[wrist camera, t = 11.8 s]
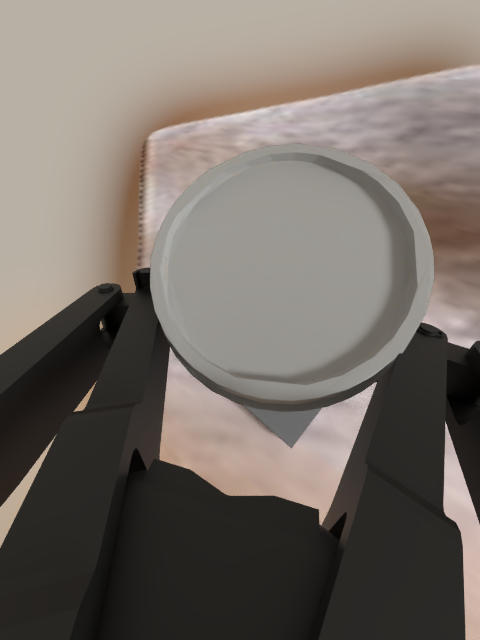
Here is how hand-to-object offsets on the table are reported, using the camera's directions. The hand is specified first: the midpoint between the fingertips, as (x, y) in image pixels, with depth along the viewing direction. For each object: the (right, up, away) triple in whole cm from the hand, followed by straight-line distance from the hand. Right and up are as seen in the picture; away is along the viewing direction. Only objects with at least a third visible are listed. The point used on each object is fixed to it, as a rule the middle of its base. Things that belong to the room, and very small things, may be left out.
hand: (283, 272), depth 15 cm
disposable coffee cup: (0, -4, +3) cm, 5 cm away
